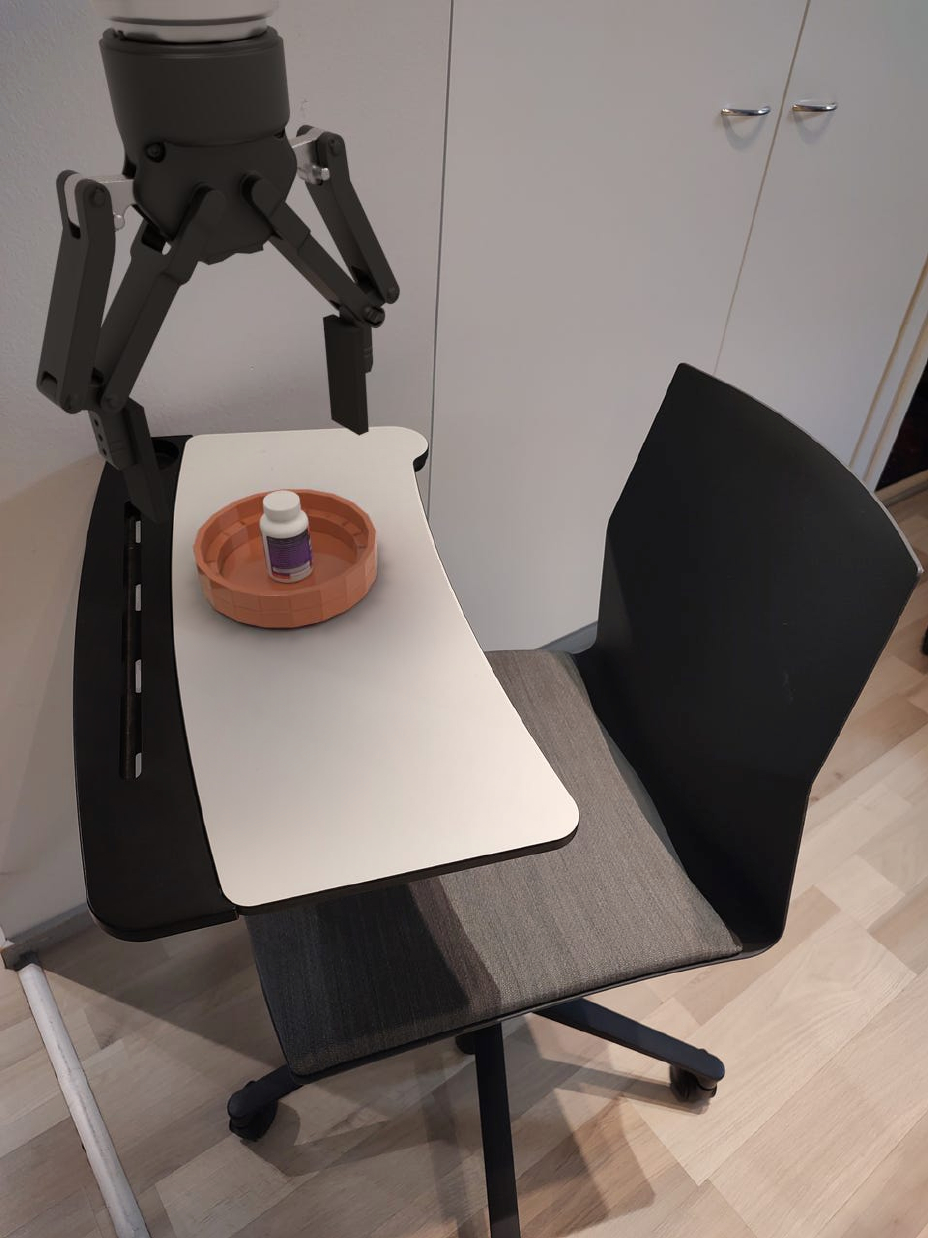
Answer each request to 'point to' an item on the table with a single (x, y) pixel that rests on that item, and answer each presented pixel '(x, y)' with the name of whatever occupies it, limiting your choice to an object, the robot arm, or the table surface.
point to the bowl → (255, 598)
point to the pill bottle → (286, 538)
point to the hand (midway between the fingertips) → (257, 465)
